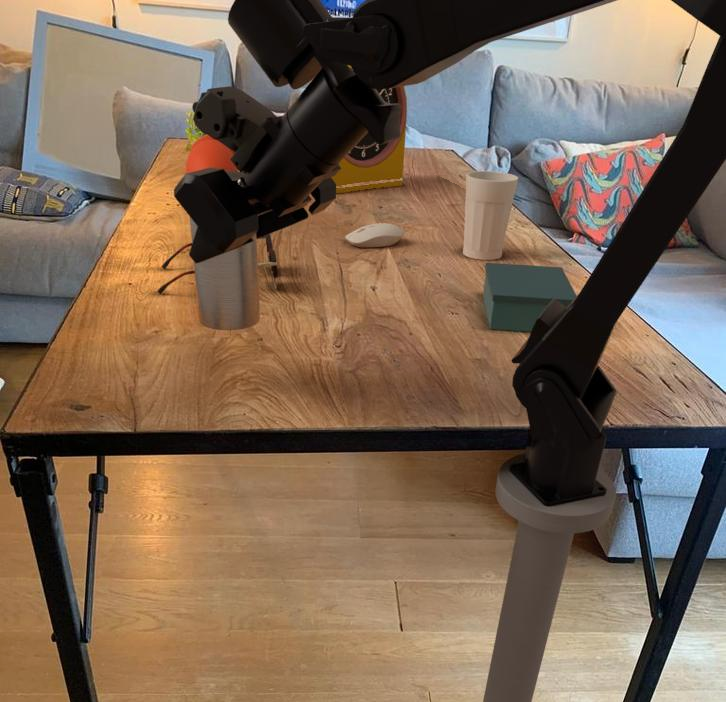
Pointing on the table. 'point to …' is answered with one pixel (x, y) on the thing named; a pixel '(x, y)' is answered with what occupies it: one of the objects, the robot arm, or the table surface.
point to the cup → (487, 213)
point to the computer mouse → (375, 235)
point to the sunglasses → (272, 264)
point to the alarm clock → (375, 153)
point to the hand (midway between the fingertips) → (213, 250)
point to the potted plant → (206, 151)
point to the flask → (228, 284)
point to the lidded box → (522, 294)
